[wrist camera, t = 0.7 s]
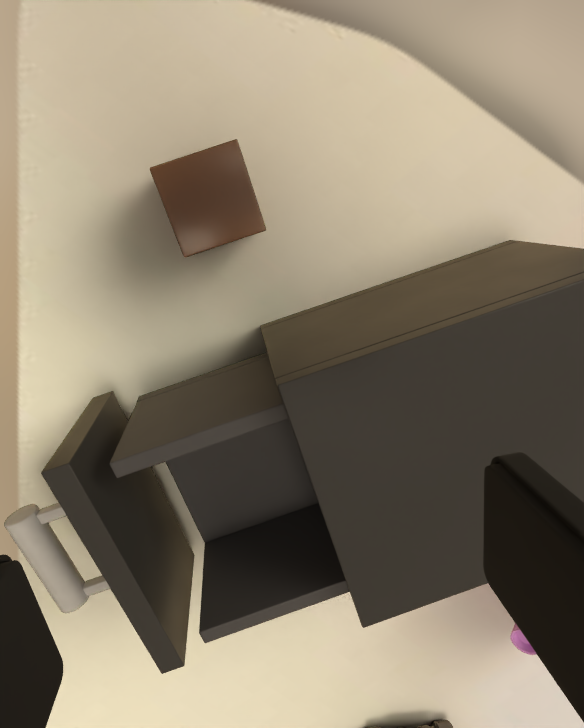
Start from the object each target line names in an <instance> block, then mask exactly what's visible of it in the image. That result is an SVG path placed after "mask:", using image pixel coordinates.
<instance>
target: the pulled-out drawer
mask: <svg viewBox="0 0 584 728" xmlns="http://www.w3.org/2000/svg"><path fill="white" fill-rule="evenodd" d="M165 461H166V463H167V465H168V467H169V469H170V472H171V474H172V476H173V478H174V480H175V482H176V484H177V486H178V488H179V490H180V492H181V494H182V496H183V499H184V501H185V503H186V505H187V507H188V509H189V511H190V513H191V515H192V517H193V519H194V521H195V524H196V526H197V528H198V530H199V532H200V534H201V536H202V538H203V540H204V542H205V550H204V565H203V581H202V597H201V613H200V629H199V633H200V635H201V637H202V639H203V641H204V643H207V642H210V641H213V640H216V639H218V638H221V637H224V636H227V635H230V634H232V633H235V632H238V631H241V630H244V629H246V628H249V627H252V626H255V625H258V624H260V623H263V622H266V621H269V620H272V619H274V618H277V617H280V616H283V615H286V614H288V613H291V612H294V611H297V610H300V609H302V608H305V607H308V606H311V605H314V604H316V603H319V602H322V601H325V600H327V599H330V598H333V597H336V596H339V595H341V594H344V593H347V592H350V591H349V588H348V585H347V582H346V579H345V577H344V574H343V571H342V568H341V565H340V562H339V560H338V557H337V554H336V551H335V548H334V545H333V543H332V540H331V537H330V534H329V531H328V529H327V526H326V523H325V520H324V517H323V514H322V512H321V509H320V506H319V503H318V500H317V497H316V495H315V492H314V489H313V486H312V483H311V481H310V478H309V475H308V472H307V469H306V466H305V464H304V461H303V458H302V455H301V452H300V449H299V447H298V444H297V441H296V438H295V435H294V432H293V430H292V427H291V424H290V421H289V418H288V416H287V413H286V410H285V407H284V404H283V401H282V399H281V396H280V393H279V390H278V387H277V384H276V380H275V377H274V373H273V370H272V366H271V363H270V359H269V356H268V352H267V353H264V354H261V355H258V356H255V357H252V358H249V359H247V360H244V361H241V362H238V363H235V364H232V365H229V366H226V367H223V368H220V369H217V370H214V371H212V372H209V373H206V374H203V375H200V376H197V377H194V378H191V379H188V380H185V381H182V382H180V383H177V384H174V385H171V386H168V387H165V388H162V389H159V390H156V391H153V392H150V393H147V394H145V395H142V396H139V398H138V401H137V404H136V406H135V408H134V410H133V413H132V415H131V417H130V419H129V421H127V419H126V417H125V415H124V413H123V411H122V409H121V407H120V405H119V403H118V401H117V399H116V397H115V395H114V393H113V391H112V392H109V393H106V394H103V395H100V396H97V397H94V398H93V399H92V400H91V401H90V403H89V404H88V406H87V407H86V409H85V410H84V412H83V413H82V414H81V416H80V417H79V419H78V420H77V422H76V423H75V425H74V426H73V427H72V429H71V430H70V432H69V433H68V435H67V436H66V438H65V439H64V440H63V442H62V443H61V445H60V446H59V448H58V449H57V451H56V452H55V453H54V455H53V456H52V458H51V459H50V461H49V462H48V463H47V465H46V466H45V468H44V469H43V471H42V472H41V474H42V475H43V477H44V479H45V480H46V482H47V484H48V485H49V487H50V489H51V490H52V492H53V494H54V495H55V497H56V499H57V500H58V502H59V503H56V504H53V505H50V506H48V507H45V508H42V509H39V507H38V506H37V505H36V504H30V505H27V506H24V507H22V508H20V509H18V510H17V511H15V512H14V513H12V514H11V515H10V516H9V517H8V518H7V519H6V520H5V522H4V526H5V528H6V529H7V531H8V532H9V534H10V535H11V537H12V538H13V540H14V541H15V543H16V544H17V546H18V547H19V549H20V550H21V552H22V553H23V555H24V556H25V558H26V559H27V561H28V562H29V564H30V565H31V567H32V568H33V570H34V571H35V573H36V574H37V576H38V577H39V579H40V580H41V582H42V583H43V585H44V586H45V588H46V589H47V591H48V592H49V594H50V595H51V597H52V598H53V600H54V601H55V603H56V604H57V606H58V607H59V609H60V610H61V611H62V612H63V613H70V612H73V611H75V610H77V609H78V608H80V607H81V606H82V605H83V604H84V603H85V602H86V601H87V599H88V598H89V596H91V595H94V594H96V593H99V592H102V591H105V590H108V589H111V590H112V592H113V593H114V595H115V597H116V598H117V600H118V602H119V603H120V605H121V607H122V608H123V610H124V612H125V613H126V615H127V617H128V618H129V620H130V622H131V623H132V625H133V627H134V628H135V630H136V632H137V633H138V635H139V637H140V638H141V640H142V642H143V643H144V645H145V647H146V648H147V650H148V652H149V653H150V655H151V657H152V658H153V660H154V662H155V663H156V665H157V667H158V668H159V670H160V672H161V673H162V674H163V673H166V672H169V671H171V670H174V669H177V668H180V667H183V666H184V663H185V652H186V641H187V630H188V619H189V608H190V597H191V586H192V576H193V565H194V553H193V551H192V549H191V547H190V545H189V543H188V541H187V539H186V537H185V535H184V533H183V531H182V529H181V527H180V525H179V523H178V521H177V519H176V517H175V515H174V513H173V511H172V509H171V507H170V505H169V503H168V501H167V499H166V497H165V495H164V493H163V491H162V489H161V487H160V485H159V483H158V481H157V479H156V477H155V475H154V473H153V471H152V469H151V466H154V465H157V464H160V463H163V462H165ZM65 516H67V517H68V519H69V520H70V522H71V524H72V525H73V527H74V529H75V530H76V532H77V534H78V535H79V537H80V539H81V540H82V542H83V544H84V545H85V547H86V549H87V550H88V552H89V554H90V555H91V557H92V559H93V560H94V562H95V564H96V565H97V567H98V569H99V570H100V572H101V574H102V576H99V577H96V578H93V579H90V580H88V581H86V582H85V581H84V580H83V578H82V576H81V575H80V573H79V572H78V570H77V568H76V567H75V565H74V564H73V562H72V560H71V559H70V557H69V556H68V554H67V552H66V551H65V549H64V548H63V546H62V544H61V543H60V541H59V540H58V538H57V536H56V535H55V533H54V532H53V530H52V528H51V527H50V525H49V523H48V522H51V521H54V520H57V519H59V518H62V517H65Z"/></svg>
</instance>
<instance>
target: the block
mask: <svg viewBox="0 0 584 728" xmlns="http://www.w3.org/2000/svg"><path fill="white" fill-rule="evenodd" d="M150 172H151V174H152V177H153V179H154V182H155V184H156V187H157V189H158V192H159V195H160V197H161V200H162V202H163V205H164V207H165V210H166V213H167V215H168V218H169V220H170V223H171V225H172V228H173V230H174V233H175V236H176V238H177V241H178V243H179V246H180V248H181V251H182V253H183V256H184V257H189V256H191V255H194V254H197V253H200V252H203V251H206V250H209V249H212V248H215V247H218V246H221V245H224V244H227V243H230V242H233V241H236V240H239V239H242V238H245V237H248V236H251V235H254V234H257V233H260V232H263V231H265V230H266V228H265V225H264V221H263V218H262V215H261V212H260V209H259V206H258V203H257V200H256V196H255V193H254V190H253V187H252V184H251V181H250V178H249V175H248V171H247V168H246V165H245V162H244V159H243V156H242V153H241V150H240V146H239V143H238V140H237V139H235V140H232V141H229V142H226V143H223V144H220V145H217V146H214V147H211V148H208V149H205V150H202V151H199V152H196V153H193V154H190V155H187V156H184V157H181V158H178V159H175V160H172V161H169V162H166V163H163V164H160V165H157V166H154V167H151V168H150Z"/></svg>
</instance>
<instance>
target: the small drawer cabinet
mask: <svg viewBox="0 0 584 728" xmlns="http://www.w3.org/2000/svg"><path fill="white" fill-rule="evenodd" d="M260 327H261V331H262V334H263V338H264V342H265V345H266V349H267V352H268V356H269V359H270V363H271V366H272V370H273V373H274V377H275V380H276V384H277V387H278V390H279V393H280V396H281V399H282V401H283V404H284V407H285V410H286V413H287V416H288V418H289V421H290V424H291V427H292V430H293V432H294V435H295V438H296V441H297V444H298V447H299V449H300V452H301V455H302V458H303V461H304V464H305V466H306V469H307V472H308V475H309V478H310V481H311V483H312V486H313V489H314V492H315V495H316V497H317V500H318V503H319V506H320V509H321V512H322V514H323V517H324V520H325V523H326V526H327V529H328V531H329V534H330V537H331V540H332V543H333V545H334V548H335V551H336V554H337V557H338V560H339V562H340V565H341V568H342V571H343V574H344V577H345V579H346V582H347V585H348V588H349V591H350V594H351V596H352V599H353V602H354V605H355V608H356V610H357V613H358V616H359V619H360V622H361V625H362V627H363V628H364V627H367V626H370V625H373V624H375V623H378V622H381V621H384V620H387V619H389V618H392V617H395V616H398V615H400V614H403V613H406V612H409V611H412V610H414V609H417V608H420V607H423V606H426V605H428V604H431V603H434V602H437V601H439V600H442V599H445V598H448V597H451V596H453V595H456V594H459V593H462V592H464V591H467V590H470V589H473V588H476V587H478V586H481V585H484V584H487V583H488V581H487V579H486V576H485V573H484V568H483V545H484V471H485V468H486V466H489V465H491V461H492V459H493V458H494V457H497V456H502V455H507V454H512V453H517V452H523V453H525V454H526V455H528V456H529V457H530V458H531V459H532V460H534V461H535V462H536V463H537V464H538V465H540V466H541V467H542V468H543V469H544V470H546V471H547V472H548V473H549V474H550V475H552V476H553V477H554V478H555V479H556V480H557V481H559V482H560V483H561V484H562V485H563V486H565V487H566V488H567V489H568V490H569V491H571V492H572V493H573V494H574V495H575V496H577V497H578V498H579V499H580V500H581V501H582V502H584V249H581V248H572V247H564V246H556V245H547V244H539V243H531V242H523V241H513V240H509V241H506V242H503V243H500V244H498V245H495V246H492V247H489V248H486V249H483V250H480V251H477V252H474V253H471V254H468V255H465V256H462V257H460V258H457V259H454V260H451V261H448V262H445V263H442V264H439V265H436V266H433V267H430V268H427V269H424V270H421V271H419V272H416V273H413V274H410V275H407V276H404V277H401V278H398V279H395V280H392V281H389V282H386V283H383V284H381V285H378V286H375V287H372V288H369V289H366V290H363V291H360V292H357V293H354V294H351V295H348V296H345V297H342V298H340V299H337V300H334V301H331V302H328V303H325V304H322V305H319V306H316V307H313V308H310V309H307V310H304V311H301V312H299V313H296V314H293V315H290V316H287V317H284V318H281V319H278V320H275V321H272V322H269V323H266V324H263V325H261V326H260Z"/></svg>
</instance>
